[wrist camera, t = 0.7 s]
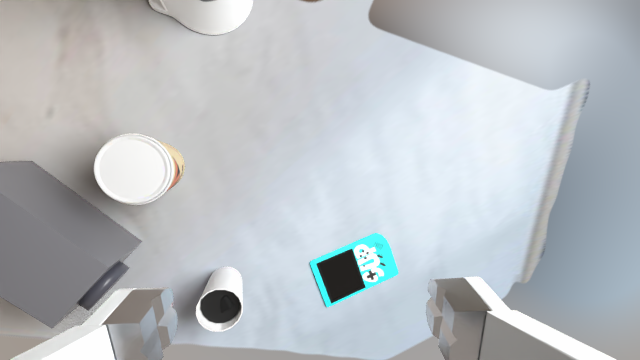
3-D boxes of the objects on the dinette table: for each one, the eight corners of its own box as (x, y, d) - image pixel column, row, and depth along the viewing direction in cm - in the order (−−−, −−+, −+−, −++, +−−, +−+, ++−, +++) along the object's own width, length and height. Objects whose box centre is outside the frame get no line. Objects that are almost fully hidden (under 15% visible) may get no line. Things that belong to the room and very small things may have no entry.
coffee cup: (166, 205, 51) (140, 220, 40) (116, 170, 49) (73, 176, 37) (202, 161, 52) (187, 164, 40) (153, 126, 50) (123, 117, 38)
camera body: (-20, 212, 46) (-113, 232, 34) (31, 160, 47) (-43, 163, 35) (105, 295, 50) (61, 337, 39) (150, 247, 51) (119, 275, 40)
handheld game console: (396, 272, 62) (400, 275, 61) (325, 306, 60) (327, 309, 58) (382, 228, 61) (384, 230, 59) (308, 260, 58) (309, 263, 57)
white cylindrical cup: (232, 256, 54) (228, 279, 45) (251, 286, 55) (251, 314, 46) (198, 277, 53) (186, 304, 44) (218, 307, 54) (211, 340, 45)
